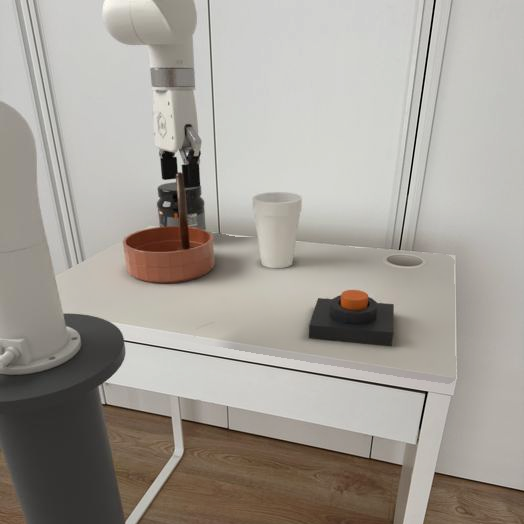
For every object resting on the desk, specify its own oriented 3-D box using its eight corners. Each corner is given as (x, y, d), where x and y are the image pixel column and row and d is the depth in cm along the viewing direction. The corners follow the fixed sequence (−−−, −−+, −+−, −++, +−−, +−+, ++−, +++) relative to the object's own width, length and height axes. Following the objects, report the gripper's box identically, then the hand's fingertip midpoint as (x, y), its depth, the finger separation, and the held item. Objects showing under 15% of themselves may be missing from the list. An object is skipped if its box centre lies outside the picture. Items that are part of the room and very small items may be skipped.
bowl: (198, 287, 94) (196, 255, 91) (111, 280, 97) (106, 249, 94) (225, 256, 109) (223, 228, 106) (148, 251, 112) (145, 223, 109)
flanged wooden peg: (186, 258, 103) (179, 174, 95) (173, 254, 105) (165, 172, 97) (199, 253, 106) (193, 171, 98) (186, 250, 108) (179, 169, 100)
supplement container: (175, 231, 125) (170, 179, 119) (214, 235, 122) (211, 182, 116) (151, 243, 116) (145, 189, 111) (193, 249, 113) (189, 192, 107)
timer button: (366, 312, 76) (367, 301, 75) (339, 309, 77) (339, 299, 76) (367, 301, 79) (369, 290, 78) (341, 299, 80) (342, 288, 79)
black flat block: (391, 346, 74) (395, 321, 72) (308, 338, 77) (309, 313, 75) (392, 316, 83) (395, 293, 81) (317, 310, 85) (318, 287, 83)
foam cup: (281, 252, 111) (281, 190, 104) (309, 263, 104) (312, 198, 98) (244, 261, 106) (242, 196, 99) (272, 274, 99) (272, 206, 93)
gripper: (134, 80, 94) (144, 178, 102) (173, 81, 81) (181, 193, 89) (173, 80, 98) (179, 174, 106) (215, 81, 85) (219, 188, 93)
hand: (180, 182), depth 98 cm, fingers open, 9 cm apart
